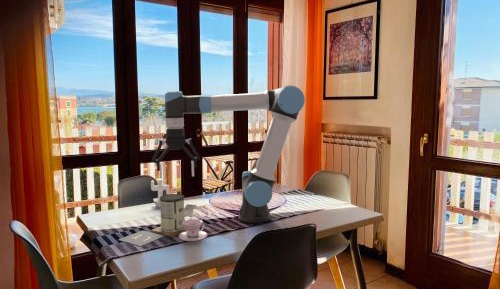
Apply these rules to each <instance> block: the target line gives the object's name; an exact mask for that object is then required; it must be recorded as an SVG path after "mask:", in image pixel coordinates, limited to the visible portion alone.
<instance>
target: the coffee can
mask: <svg viewBox="0 0 500 289" xmlns="http://www.w3.org/2000/svg"><path fill="white" fill-rule="evenodd" d="M184 201H185V195H183V194H179V193H169V194H163V196H161V197H160V207H159V208H160V210H159V211H160V226H161V230H162V231H165V232H176V231H180V230H183V229H184V228H185V226H184V225H183V224H182V222H183V221H185V217H184V207H185V202H184Z"/></svg>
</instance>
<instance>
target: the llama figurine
mask: <svg viewBox="0 0 500 289" xmlns="http://www.w3.org/2000/svg"><path fill="white" fill-rule="evenodd" d="M197 205H198V204H196V203H186V205H184V218H186V217H188V218H192V217H195V218H199V219H202V220H204V221H206V220H207V218H206V217H205V216H203V215H202V216H201V215H199V214H195V213H194V210H200V211H201V212H202V213H204V214H206V216H207V215H209V211H206V210H204V209H203V208H202V206H199V205H198V206H197Z"/></svg>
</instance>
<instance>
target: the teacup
mask: <svg viewBox="0 0 500 289" xmlns="http://www.w3.org/2000/svg"><path fill="white" fill-rule="evenodd" d="M182 224H183V225H184V226H185V228H186V231H185V232H182V233H180V234H179V235H178V238H179V240H182V241H186V242H197V241H201V240H204V239H206V238H207V237H208V233H207V232H206V231H203V230H204V229H205V224H206V223H205V222H204V221H203V219H202V220H201V219H187V220H184V221H183V222H182ZM201 226H202V228H201ZM200 228H201V229H200Z"/></svg>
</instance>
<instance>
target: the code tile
mask: <svg viewBox="0 0 500 289" xmlns="http://www.w3.org/2000/svg"><path fill="white" fill-rule="evenodd" d="M164 237H165V235H162V234H158V233H154V232H151V231H147V230H141V231H138V232H135V233H132V234H130V235H126V236H124V237H122V238H119V239H118V241H121V242H123V243H127V244H131V245H135V246H138V247H143V246H145V245H147V244H150V243H152V242H155V241H157V240H158V239H162V238H164Z"/></svg>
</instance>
